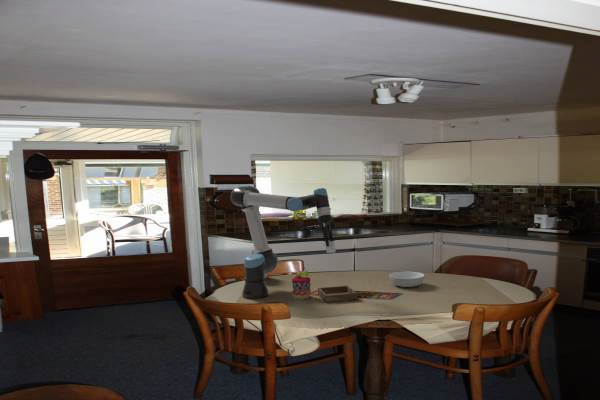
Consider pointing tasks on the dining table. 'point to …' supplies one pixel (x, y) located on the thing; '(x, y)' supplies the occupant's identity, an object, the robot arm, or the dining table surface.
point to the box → (337, 294)
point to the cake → (301, 286)
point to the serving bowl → (407, 278)
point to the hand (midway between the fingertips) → (331, 252)
